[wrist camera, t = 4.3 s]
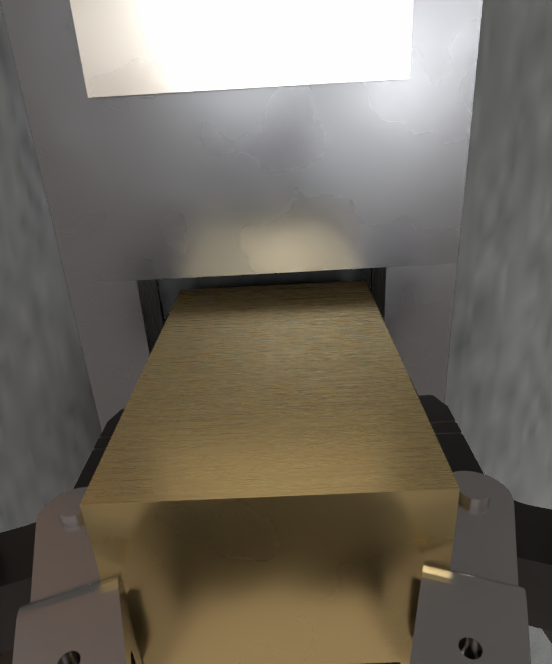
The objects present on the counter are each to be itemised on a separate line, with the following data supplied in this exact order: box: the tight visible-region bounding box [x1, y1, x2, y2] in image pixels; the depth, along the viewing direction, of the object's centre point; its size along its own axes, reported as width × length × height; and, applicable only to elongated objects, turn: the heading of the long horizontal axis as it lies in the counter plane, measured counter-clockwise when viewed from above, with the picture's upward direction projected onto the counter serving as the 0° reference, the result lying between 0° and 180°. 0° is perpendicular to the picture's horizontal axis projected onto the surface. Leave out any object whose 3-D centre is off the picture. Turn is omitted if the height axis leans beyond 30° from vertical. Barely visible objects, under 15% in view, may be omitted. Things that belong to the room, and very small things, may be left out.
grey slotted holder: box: [0, 0, 483, 431], centre depth 14 cm, size 24×10×2 cm, turn 3°
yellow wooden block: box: [80, 280, 460, 664], centre depth 12 cm, size 5×5×8 cm
